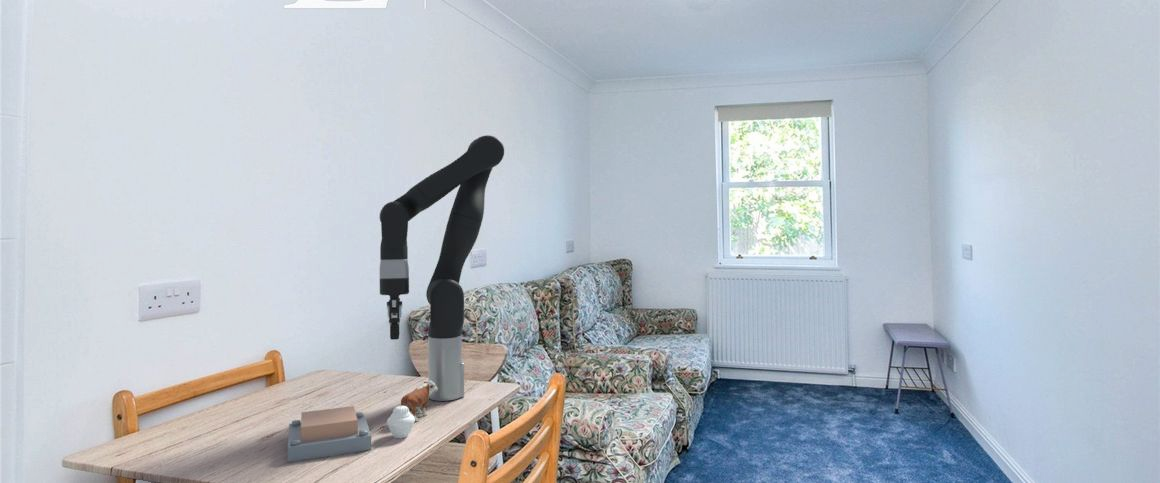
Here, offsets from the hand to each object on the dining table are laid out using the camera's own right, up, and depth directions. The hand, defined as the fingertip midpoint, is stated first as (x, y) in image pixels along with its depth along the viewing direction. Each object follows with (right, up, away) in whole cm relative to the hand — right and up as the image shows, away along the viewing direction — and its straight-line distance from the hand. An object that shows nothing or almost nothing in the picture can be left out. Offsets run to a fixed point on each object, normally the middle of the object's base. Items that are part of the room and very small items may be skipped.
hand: (395, 337), depth 157 cm
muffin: (+9, -19, -23) cm, 31 cm away
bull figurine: (+9, -19, -10) cm, 23 cm away
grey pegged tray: (-6, -19, -28) cm, 34 cm away
